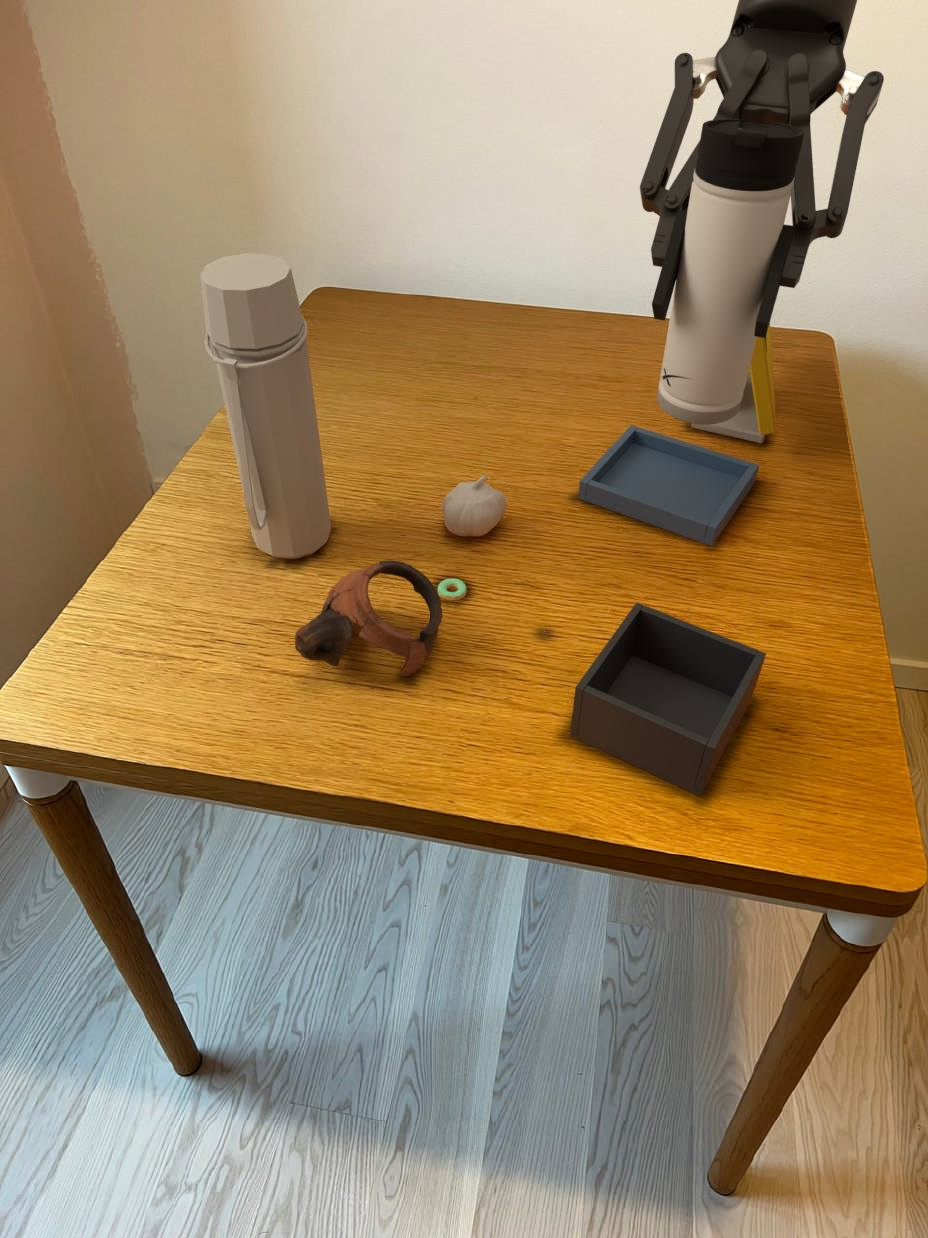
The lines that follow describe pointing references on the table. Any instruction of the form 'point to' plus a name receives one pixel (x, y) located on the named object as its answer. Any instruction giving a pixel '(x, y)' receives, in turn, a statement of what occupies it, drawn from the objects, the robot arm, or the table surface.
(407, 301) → the table surface
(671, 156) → the robot arm
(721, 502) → the tray
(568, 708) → the table surface
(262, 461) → the water bottle
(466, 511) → the garlic
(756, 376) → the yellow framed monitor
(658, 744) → the dark grey open box
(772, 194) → the travel mug
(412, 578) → the animal head ring
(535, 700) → the table surface
